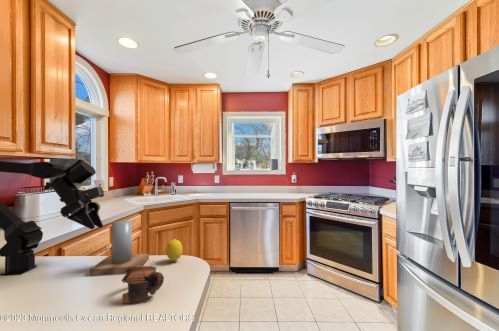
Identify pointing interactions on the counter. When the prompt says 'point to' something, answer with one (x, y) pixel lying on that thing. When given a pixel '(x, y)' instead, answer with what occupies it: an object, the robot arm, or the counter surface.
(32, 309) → the counter surface
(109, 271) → the shelf board
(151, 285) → the pottery mug
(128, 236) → the grey cylinder
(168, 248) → the lemon
